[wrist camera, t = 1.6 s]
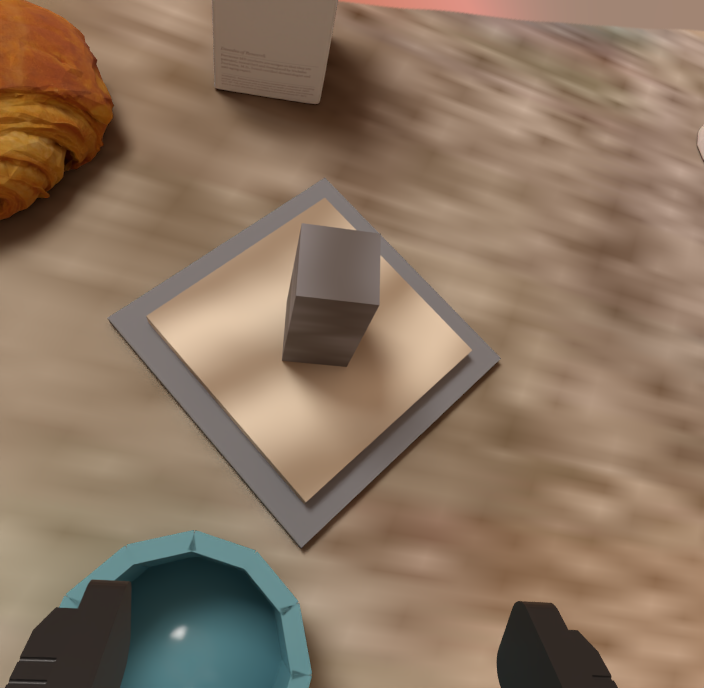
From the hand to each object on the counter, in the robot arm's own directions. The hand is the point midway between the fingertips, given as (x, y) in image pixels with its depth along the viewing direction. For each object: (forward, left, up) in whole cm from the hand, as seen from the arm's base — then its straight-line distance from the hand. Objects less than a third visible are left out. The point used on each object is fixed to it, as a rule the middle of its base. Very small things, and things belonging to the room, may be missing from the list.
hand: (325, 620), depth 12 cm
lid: (-9, +11, -18) cm, 22 cm away
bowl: (-1, -4, -18) cm, 19 cm away
